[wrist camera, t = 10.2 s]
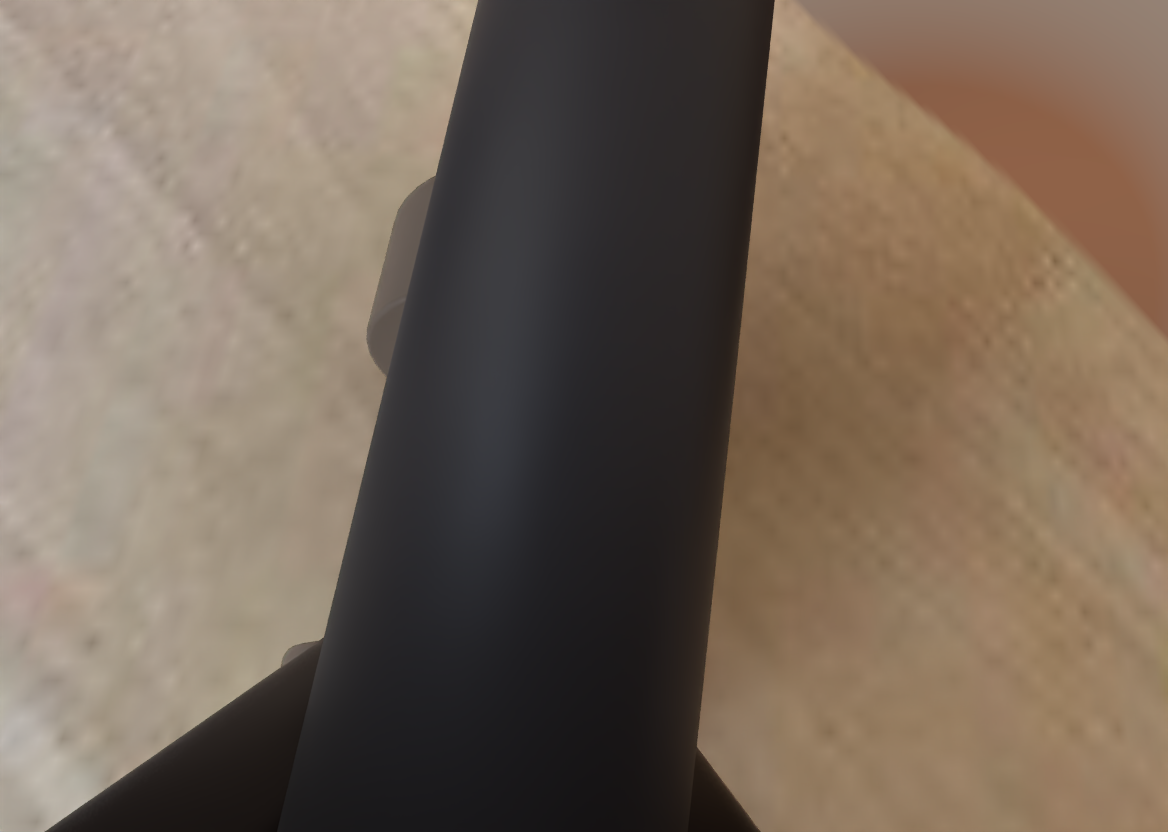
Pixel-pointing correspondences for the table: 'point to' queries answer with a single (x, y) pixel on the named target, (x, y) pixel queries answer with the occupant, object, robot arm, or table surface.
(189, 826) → the robot arm
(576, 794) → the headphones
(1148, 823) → the table surface
